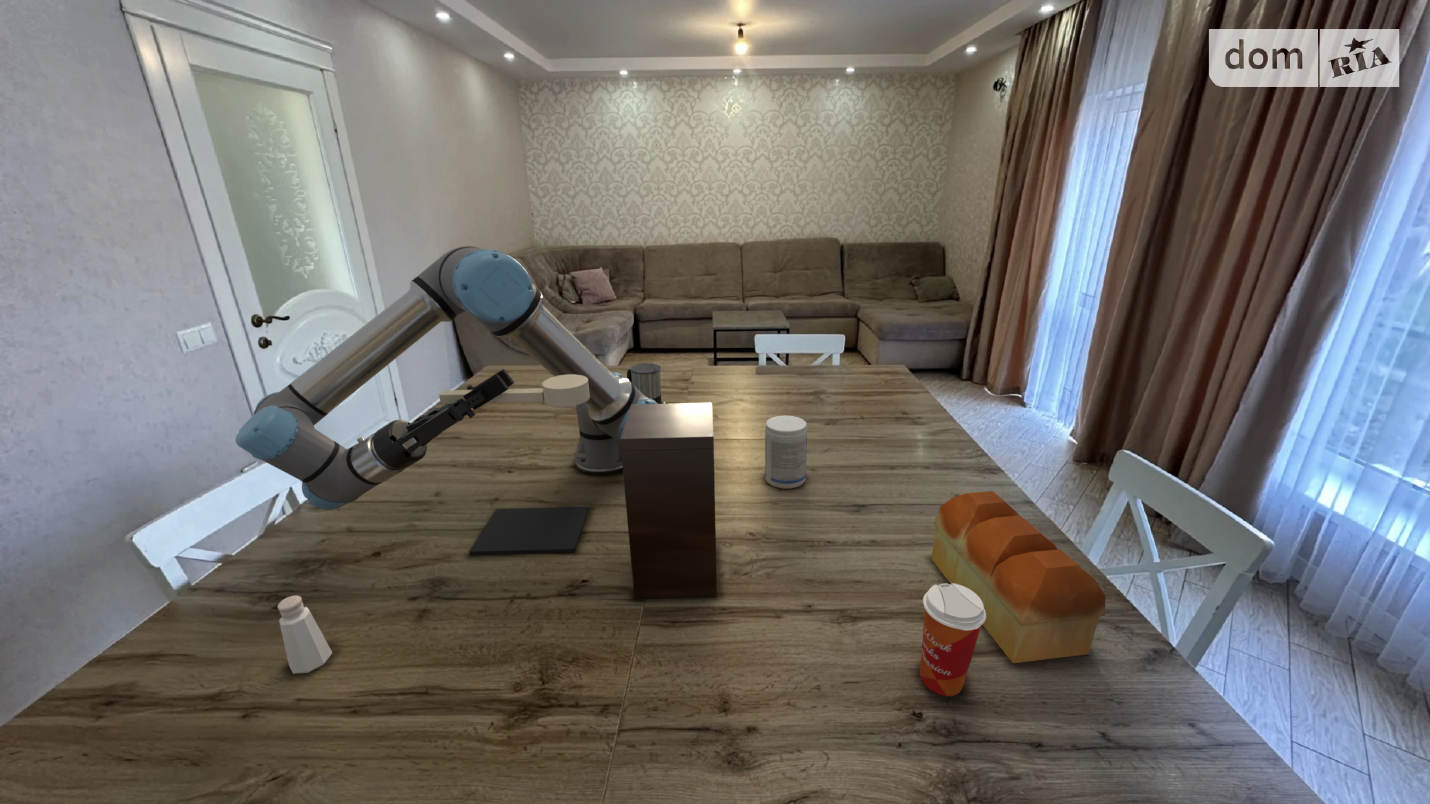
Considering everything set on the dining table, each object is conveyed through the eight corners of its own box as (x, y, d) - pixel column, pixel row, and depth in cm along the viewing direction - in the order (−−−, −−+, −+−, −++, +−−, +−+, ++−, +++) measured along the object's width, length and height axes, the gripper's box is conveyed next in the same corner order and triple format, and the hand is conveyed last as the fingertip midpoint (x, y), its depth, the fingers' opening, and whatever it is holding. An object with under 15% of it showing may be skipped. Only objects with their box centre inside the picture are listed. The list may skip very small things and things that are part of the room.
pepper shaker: (341, 650, 84) (321, 592, 80) (306, 679, 79) (283, 618, 75) (315, 642, 85) (294, 585, 81) (280, 669, 81) (255, 610, 77)
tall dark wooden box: (642, 548, 106) (631, 404, 95) (715, 546, 106) (712, 402, 95) (634, 599, 93) (619, 438, 82) (717, 596, 93) (713, 436, 82)
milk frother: (669, 411, 171) (667, 365, 166) (636, 429, 159) (633, 380, 153) (634, 402, 178) (630, 358, 173) (600, 419, 166) (595, 372, 160)
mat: (497, 512, 119) (496, 508, 119) (589, 509, 119) (589, 506, 119) (469, 555, 105) (469, 551, 105) (574, 552, 106) (574, 548, 105)
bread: (1092, 656, 80) (1117, 573, 75) (1012, 665, 79) (1032, 582, 73) (991, 551, 103) (1005, 482, 98) (928, 557, 102) (938, 488, 97)
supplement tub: (813, 482, 128) (817, 425, 123) (782, 494, 124) (784, 435, 118) (786, 466, 136) (788, 411, 131) (756, 477, 131) (756, 420, 126)
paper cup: (903, 659, 80) (914, 582, 75) (954, 655, 81) (968, 578, 76) (927, 706, 73) (941, 624, 68) (982, 701, 74) (1000, 619, 68)
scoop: (452, 394, 90) (449, 377, 89) (593, 391, 91) (591, 373, 89) (433, 410, 84) (429, 391, 83) (585, 406, 84) (583, 388, 83)
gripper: (346, 453, 81) (471, 375, 78) (398, 414, 96) (506, 346, 92) (382, 490, 84) (504, 416, 80) (428, 447, 98) (534, 382, 94)
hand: (505, 379), depth 86 cm, fingers closed on scoop, 2 cm apart
